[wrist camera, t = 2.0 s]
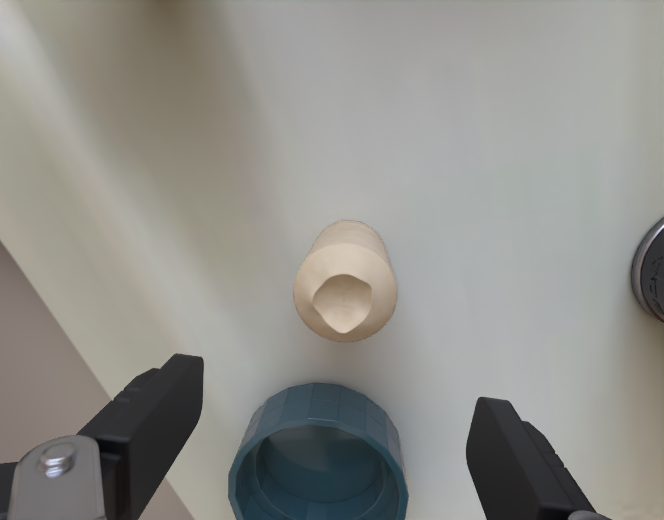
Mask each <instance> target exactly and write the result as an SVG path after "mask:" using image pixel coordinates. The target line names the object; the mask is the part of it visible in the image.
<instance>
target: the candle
mask: <svg viewBox="0 0 664 520" xmlns="http://www.w3.org/2000/svg"><path fill="white" fill-rule="evenodd" d="M293 295H294V302H295V306H296V309H297V311H298V313H299V315H300V317H301V319H302V320H303V321H304V323H305V324H306V325H307V326H308V327H309V328H310V329H311V330H313V331H314V332H315V333H317V334H319V335H320V336H322V337H325V338H327V339H330V340H334V341H339V342H353V341H358V340H362V339H365V338H367V337H370V336H372V335H373V334H375V333H376V332H378V331H379V330H380V329H381V328H382V327H383V326H384V325H385V324H386V323H387V322H388V321H389V319H390V317H391V316H392V314H393V311H394V309H395V306H396V301H397V286H396V281H395V278H394V275H393V271H392V268H391V265H390V261H389V258H388V255H387V252H386V249H385V246H384V243H383V241H382V239H381V238H380V236H379V235H378V234H377V233H376V231H374V230H373V229H372V228H371V227H369V226H368V225H366V224H364V223H361V222H357V221H341V222H337V223H334V224H332V225H330V226H328V227H327V228H326V229H324V230H323V231H322V232H321V233H320V235H319V236H318V237H317V239H316V240H315V242H314V244H313V246H312V247H311V249H310V251H309V253H308V254H307V256H306V258H305V260H304V262H303V263H302V265H301V267H300V269H299V271H298V273H297V275H296V278H295V282H294V289H293Z"/></svg>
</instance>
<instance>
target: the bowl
mask: <svg viewBox="0 0 664 520" xmlns="http://www.w3.org/2000/svg"><path fill="white" fill-rule="evenodd" d="M228 497H229V501H230V504H231V506H232V509H233V512H234V515H235V517H236V519H237V520H405V517H406V510H407V504H408V497H409V494H408V488H407V481H406V474H405V468H404V461H403V454H402V449H401V445H400V440H399V436H398V432H397V430H396V428H395V426H394V425H393V423H392V422H391V420H390V419H389V417H388V416H387V414H386V413H385V411H384V410H382V409H381V408H380V407H379V406H377V405H376V404H375V403H374V402H372V401H371V400H370V399H369V398H367V397H366V396H365V395H363V394H361V393H358V392H356V391H353V390H351V389H348V388H346V387H343V386H340V385H331V384H321V383H312V384H306V385H301V386H295V387H291V388H288V389H286V390H284V391H282V392H280V393H278V394H276V395H274V396H272V397H270V398H269V399H268V400H267V401H266V402H265V403H264V404H263V405H262V406H261V407H260V408H259V409H258V410H257V411H256V412H255V413H254V415H253V416H252V419H251V421H250V424H249V426H248V428H247V431H246V433H245V436H244V438H243V440H242V443H241V445H240V447H239V450H238V452H237V455H236V457H235V459H234V462H233V464H232V467H231V469H230V471H229V475H228Z"/></svg>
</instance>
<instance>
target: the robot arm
mask: <svg viewBox="0 0 664 520" xmlns="http://www.w3.org/2000/svg"><path fill="white" fill-rule="evenodd" d="M632 285H633V289H634V292H635V295H636V297H637V299H638V301H639V303H640V304H641V306H642V307H643V308H644V309H645V310H646V311H647V312H648V313H649V314H650V315H651V316H653V317H654V318H656V319H657V320H659V321H661V322H663V323H664V218H662V219H661V220H660V221H659V222H658V223H656V224H655V225H654V227H653V228H652V229H651V230H650V231H649V232H648V233H647V235H646V236H645V238H644V239H643V241H642V242H641V244H640V246H639V248H638V250H637V252H636V255H635V258H634V262H633V266H632ZM203 372H204V362H203V358H202V357H198V356H191V355H184V354H174V355H173V356H172V357H171V358H170V359H169V360H168V361H167V362H166V363H165V364H164V365H163V366H162V367H161V369H157V368H152V369H151V370H149V371H147V372H145V373H143V374H141V375H139V376H137V377H135V378H134V379H133V380H132V381H131V382H130V383H129V384H128V385H127V386H126V387H125V388H124V391H121V392H120V393H119V394H118V395H117V396H116V397H115V398H114V400H113V401H110V402H109V403H108V404H107V405H106V406H105V407H104V408H103V409H102V410H101V411H100V412H99V413H98V414H97V415H96V416H95V417H94V418H93V419H92V420H91V421H90V422H89V423H87V425H85V426H84V427H83V428H82V429H81V430H80V431H79V432H78V433H77V434H76V435H70V436H63V437H58V438H55V439H52V440H49V441H47V442H45V443H42V444H40V445H38V446H37V447H35V448H33V449H32V450H31V451H29V452H28V453H27V454H26V455H25V456H24V457H22V459H21V460H20V461H19V462H13V463H3V464H0V520H138V519H139V517H140V515H141V514H142V512H143V510H144V509H145V507H146V506H147V504H148V502H149V501H150V499H151V498H152V496H153V495H154V493H155V491H156V490H157V488H158V486H159V485H160V483H161V482H162V480H163V478H164V477H165V475H166V474H167V472H168V470H169V469H170V467H171V465H172V464H173V462H174V461H175V459H176V457H177V456H178V454H179V453H180V451H181V449H182V448H183V446H184V445H185V443H186V441H187V440H188V438H189V436H190V435H191V433H192V432H193V430H194V428H195V427H196V425H197V423H198V420H199V418H200V414H201V410H202V403H203ZM466 459H467V465H468V468H469V471H470V474H471V477H472V480H473V482H474V485H475V488H476V491H477V494H478V496H479V499H480V502H481V505H482V508H483V510H484V513H485V516H486V519H487V520H611V519H609V518H607V517H605V516H603V515H601V514H598V513H597V512H596V511H595V510H594V508H593V507H592V505H591V504H590V502H589V501H588V499H587V498H586V496H585V495H584V493H583V492H582V490H581V489H580V487H579V486H578V484H577V483H576V481H575V480H574V479H573V477H572V476H571V474H570V473H569V471H568V470H567V468H564V464H563V462H562V461H561V459H560V458H559V456H558V455H557V454H555V450H554V449H553V447H552V446H551V445H550V443H549V442H548V440H547V439H546V437H545V436H544V435H543V434H542V433H541V432H540V431H538V430H537V429H536V428H535V427H534V426H533V425H531V424H530V423H529V422H526V421H522V420H521V419H520V417H519V415H518V414H517V412H516V411H515V409H514V407H513V406H512V404H511V403H510V402H509V401H508V400H502V399H495V398H487V397H479V398H478V400H477V403H476V406H475V411H474V415H473V419H472V423H471V427H470V431H469V436H468V440H467V445H466Z"/></svg>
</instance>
